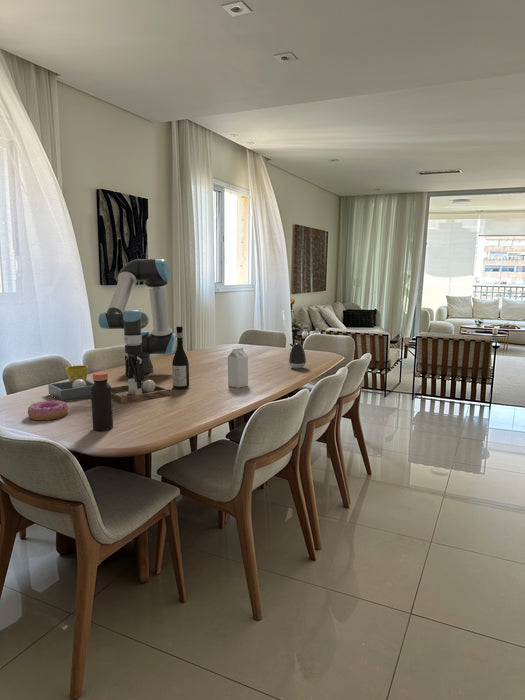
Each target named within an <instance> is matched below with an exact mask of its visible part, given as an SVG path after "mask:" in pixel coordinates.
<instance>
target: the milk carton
mask: <svg viewBox="0 0 525 700" xmlns="http://www.w3.org/2000/svg"><path fill="white" fill-rule="evenodd" d="M231 350H232V351H231V352H230V353H229V354H228V355H227V386H228V387H232V388H237V389H239V388H243V387H244V388H245V387H248V386H249V356H248V354H247V353H246V352H245V350H244V347H237V348H232V349H231Z"/></svg>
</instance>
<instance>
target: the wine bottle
mask: <svg viewBox="0 0 525 700" xmlns="http://www.w3.org/2000/svg"><path fill="white" fill-rule="evenodd" d="M175 330H176V348H175V351H174V352H175V353H174V356H173V359H172V363H171V371H172V372H171V373H172V374H171V375H172V377H171V378H172V387H173V388H174V389H177V390H183V389H184V390H186V389H188V388H189V387H190V365H189V359H188V356H187V354H186V352H185V349H184V342H183V340H184V339H183V331H184V329H183V326H176V327H175Z"/></svg>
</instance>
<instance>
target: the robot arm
mask: <svg viewBox="0 0 525 700" xmlns="http://www.w3.org/2000/svg"><path fill="white" fill-rule="evenodd" d="M117 280H118V281H117V284H116V287H115V289H114V293H113V295H112V297H111V300H110V303H109V305H108V309H107V310H106V312H101V313H99V315H98V325H99V327H100V328H101V329H104V330H105V329H107V330H123V334H124V337H123V340H124V352H125V354H127V355H124V360H125V364H124V365H125V377H126V378H127V379H128V385H130V384H131V383H132V382H135V393H136V395H138V394H143V388H142V386H141V383H142V381H144V380H145V375H146V374H147V373H148V374H152V373H153V372H154V366H153V363H152V360H151V355H171V354H173V353H174V352H175V351H176V347H177V333H174V332H173V329H172V328H171V327H170V322H169V315H168V314H169V313H168V303H167V302H168V301H167V294H166V286H167V285H168V284H169V283H168V282H170V280H171V270H170V266H169V263H168V262H167V260H166V259H163V258H161V259H160V258H136V259H133V260H131V261H129V262H128V263H126V264H125V265H124V266H123V267H122V268H121V269H120V271H119V272H118V275H117ZM138 282H144V284H145V286H146V287H147V288H148V293H149V301H150V308H151V309H150V311H151V317H152V327H153V328H152V330H151V332H150V331H149V330H142V329H144V328H146V327H147V326H148V324H149V322H150V318H149V316H148V315H147V314H146V313H145V312H141V311H140V310H139V309H126V307H127V304H128V303H129V298H130V296H131V293H132V289H133V288H134V286H135V285H136V284H137V283H138ZM151 372H152V373H151ZM128 394H131V393H130V392H129V391H128Z"/></svg>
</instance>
